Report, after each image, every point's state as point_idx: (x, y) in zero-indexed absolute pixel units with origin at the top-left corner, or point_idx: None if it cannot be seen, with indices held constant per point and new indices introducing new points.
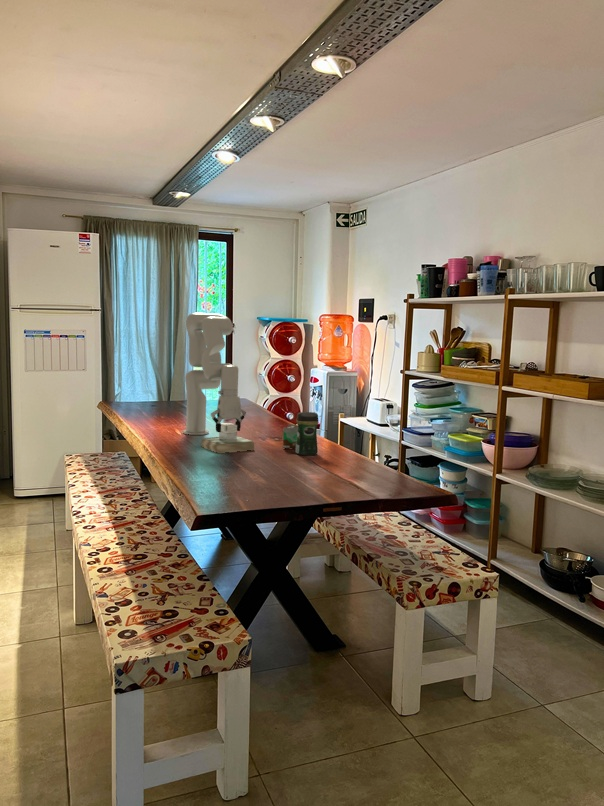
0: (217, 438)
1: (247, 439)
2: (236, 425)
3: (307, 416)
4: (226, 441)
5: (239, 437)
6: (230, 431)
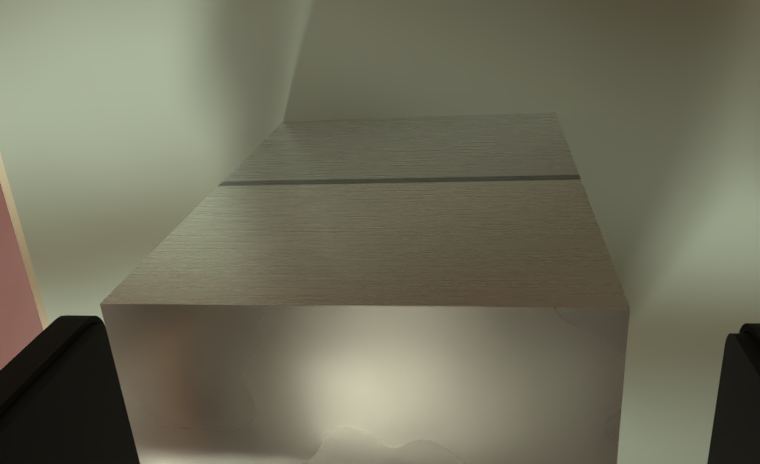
0: None
1: (6, 151)
2: (138, 291)
3: None
4: (568, 101)
5: None
6: (443, 203)
